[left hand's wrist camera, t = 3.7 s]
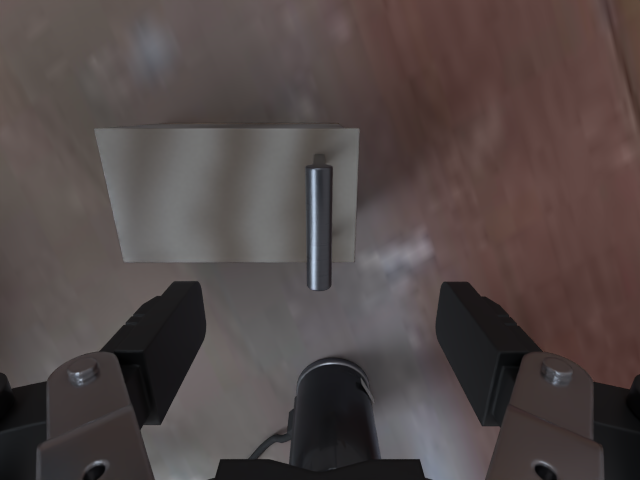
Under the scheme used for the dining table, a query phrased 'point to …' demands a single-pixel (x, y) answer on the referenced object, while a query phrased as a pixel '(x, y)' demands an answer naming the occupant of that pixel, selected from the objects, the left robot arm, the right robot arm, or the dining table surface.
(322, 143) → the panel with bar handle
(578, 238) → the dining table surface
